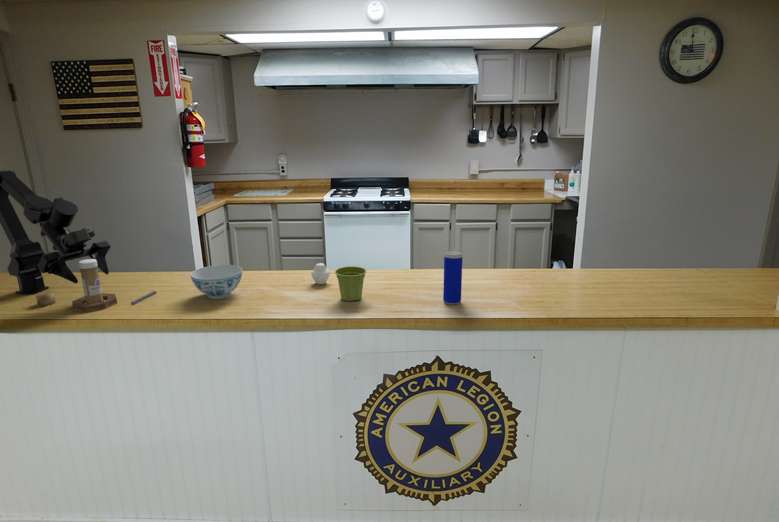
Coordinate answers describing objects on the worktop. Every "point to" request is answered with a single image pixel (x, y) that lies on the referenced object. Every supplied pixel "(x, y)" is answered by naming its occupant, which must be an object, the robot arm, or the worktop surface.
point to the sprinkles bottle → (91, 281)
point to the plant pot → (350, 282)
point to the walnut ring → (81, 306)
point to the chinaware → (217, 280)
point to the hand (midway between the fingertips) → (92, 277)
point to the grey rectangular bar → (143, 297)
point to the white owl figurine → (320, 273)
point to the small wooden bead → (45, 299)
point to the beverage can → (452, 277)
